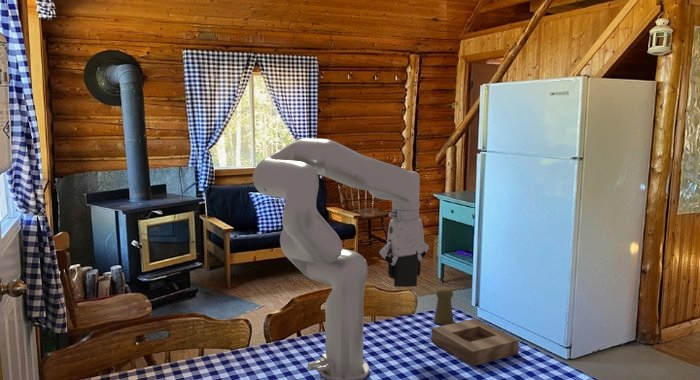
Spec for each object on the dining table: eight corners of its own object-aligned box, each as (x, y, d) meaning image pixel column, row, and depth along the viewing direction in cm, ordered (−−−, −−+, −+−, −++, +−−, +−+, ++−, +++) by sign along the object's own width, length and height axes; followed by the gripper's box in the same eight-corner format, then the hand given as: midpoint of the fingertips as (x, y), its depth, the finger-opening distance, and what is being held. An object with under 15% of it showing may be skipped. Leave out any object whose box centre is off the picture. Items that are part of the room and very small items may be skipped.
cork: (432, 323, 170) (433, 289, 168) (435, 317, 175) (436, 284, 174) (452, 325, 168) (453, 291, 166) (454, 319, 174) (455, 286, 172)
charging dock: (473, 366, 140) (473, 351, 140) (431, 341, 156) (431, 328, 155) (518, 353, 148) (518, 340, 147) (474, 331, 163) (474, 318, 163)
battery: (415, 283, 156) (416, 244, 155) (417, 287, 152) (418, 247, 151) (391, 283, 156) (392, 244, 154) (393, 287, 152) (394, 247, 150)
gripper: (386, 219, 144) (385, 283, 146) (438, 214, 152) (437, 275, 154) (372, 215, 151) (371, 276, 153) (422, 210, 159) (421, 269, 161)
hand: (404, 275), depth 154 cm, fingers closed on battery, 7 cm apart
